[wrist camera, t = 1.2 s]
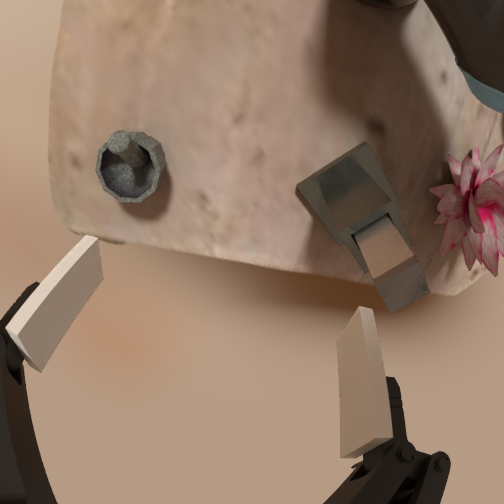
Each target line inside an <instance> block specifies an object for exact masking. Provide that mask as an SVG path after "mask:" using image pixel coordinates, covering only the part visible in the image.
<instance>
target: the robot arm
mask: <svg viewBox="0 0 504 504" xmlns="http://www.w3.org/2000/svg"><path fill="white" fill-rule="evenodd" d="M358 1H360V2H362V3H364V4H367V5H370V6H373V7H377V8H384V9H396V8H401V7H404V6H407V5H409V4H412V3H414V2H415V1H417V0H358ZM424 1H425V3H426V4H427V6H428V8H429V9H430V11H431V12H432V14H433V16H434V18H435V19H436V21H437V23H438V24H439V26H440V28H441V30H442V32H443V34H444V35H445V37H446V39H447V41H448V43H449V45H450V47H451V49H452V51H453V53H454V55H455V61H456V64H457V66H458V67H459V69H460V70H461V72H462V73H463V75H464V77H465V79H466V82H467V84H468V86H469V88H470V90H471V92H472V93H473V94H474V95H475V97H476V98H477V99H478V100H479V101H480V102H481V103H483V104H484V105H486V106H487V107H489V108H491V109H493V110H495V111H498V112H500V113H503V114H504V0H424ZM103 279H104V278H103V273H102V266H101V259H100V252H99V244H98V238H95V237H92V236H89V235H86V236H85V237H84V238H83V239H82V240H81V241H80V242H79V243H78V244H77V245H76V246H75V247H74V248H73V249H72V250H71V251H70V252H69V253H68V254H67V255H66V256H65V257H64V258H63V259H62V260H61V261H60V262H59V263H58V265H57V266H56V267H55V268H54V269H53V270H52V271H51V272H50V273H49V274H48V276H47V277H46V278H45V279H44V280H43V281H42V282H41V284H40V283H38V282H35V283H33V284H32V285H30V286H29V287H27V288H26V290H25V291H24V292H23V293H22V294H21V296H20V297H19V298H18V299H17V300H16V302H15V303H14V304H13V305H12V306H11V308H10V309H9V310H8V311H7V313H6V314H5V315H4V316H3V318H2V319H1V320H0V504H58V503H57V502H56V499H55V496H54V494H53V492H52V489H51V486H50V483H49V481H48V478H47V475H46V472H45V468H44V465H43V462H42V459H41V455H40V452H39V448H38V445H37V441H36V437H35V432H34V428H33V424H32V419H31V414H30V409H29V403H28V397H27V390H26V383H25V375H24V367H23V364H22V362H23V360H24V359H25V360H26V362H27V363H28V365H30V366H31V367H32V368H34V369H35V370H37V371H39V372H42V370H43V369H44V367H45V365H46V363H47V362H48V360H49V359H50V357H51V355H52V354H53V352H54V351H55V349H56V347H57V346H58V344H59V343H60V341H61V339H62V338H63V336H64V335H65V333H66V332H67V330H68V329H69V327H70V326H71V324H72V323H73V321H74V320H75V318H76V317H77V316H78V314H79V313H80V311H81V310H82V308H83V307H84V305H85V304H86V302H87V301H88V300H89V298H90V297H91V295H92V294H93V293H94V291H95V290H96V289H97V287H98V286H99V285H100V283H101V282H102V281H103ZM336 342H337V356H338V374H339V398H340V458H357V457H359V456H361V455H363V461H361V462H359V463H357V464H355V465H353V466H352V467H351V468H355V467H356V468H355V470H354V471H353V472H352V473H351V474H350V476H349V477H348V478H347V479H346V480H345V481H344V482H343V483H342V484H341V486H340V487H339V488H338V489H337V490H336V491H335V492H334V493H333V494H332V495H331V496H330V497H329V498H328V499H327V500H326V502H324V503H323V504H440V502H441V499H442V496H443V493H444V489H445V486H446V482H447V479H448V475H449V472H450V466H451V462H450V458H449V457H448V455H447V454H446V453H444V452H441V451H439V452H436V453H434V454H432V455H429V454H426V453H423V452H419V451H417V450H416V449H415V447H414V446H413V444H412V443H410V442H408V440H407V435H406V427H405V419H404V412H403V408H402V406H403V405H402V400H401V392H400V387H399V385H398V383H397V381H396V380H395V378H394V377H386V376H385V370H384V364H383V358H382V353H381V348H380V342H379V338H378V332H377V327H376V323H375V318H374V313H373V310H372V309H370V308H365V307H361V306H359V307H358V309H357V310H356V312H355V313H354V315H353V316H352V318H351V319H350V321H349V323H348V324H347V326H346V327H345V329H344V330H343V332H342V333H341V335H340V336H339V338H338V339H337V341H336Z"/></svg>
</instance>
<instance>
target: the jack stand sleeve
mask: <svg viewBox="0 0 504 504" xmlns="http://www.w3.org/2000/svg"><path fill="white" fill-rule="evenodd" d="M297 187H298V189H299V191H300V192H301V193H302V195H303V196H304V197H305V199H306V200H307V202H308V203H309V204H310V206H311V207H312V208H313V210H314V211H315V213H316V214H317V215H318V217H319V218H320V220H321V221H322V222H323V224H324V225H325V227H326V228H327V230H328V231H329V232H330V234H331V235H332V237H333V238H334V240H335V241H336V243H337V244H338V245H339V246H340V245H342V244H343V243H345V244H346V245H347V247H348V248H349V250H350V251H351V253H352V254H353V256H354V258H355V259H356V261H357V262H358V264H359V265H360V267H361V269H362V270H363V272H364V273H366V272H368V271H369V268H368V266H367V264H366V261H365V259H364V257H363V255H362V252H361V250H360V248H359V246H358V243H357V241H356V239H355V237H354V235H353V233H355V232H356V231H358V230H360V229H361V228H363V227H365V226H366V225H368V224H370V223H371V222H373V221H375V220H376V219H378V218H379V217H381V216H383V215H384V214H386V215H387V216H388V218H389V219H390V220H391V222H392V223H393V225H394V226H395V228H396V229H397V230H398V232H399V233H400V235H401V236H402V238H403V239H404V241H405V242H406V244H407V245H408V247H411V246H412V243H411V240H410V238H409V236H408V234H407V231H406V229H405V227H404V225H403V222H402V220H401V218H400V216H399V214H398V212H397V211H398V210H399V209H401V206H400V204H399V202H398V200H397V198H396V195H395V193H394V191H393V189H392V187H391V185H390V183H389V181H388V180H387V178H386V176H385V174H384V172H383V170H382V168H381V166H380V164H379V163H378V161H377V159H376V157H375V155H374V154H373V152H372V150H371V148H370V147H369V145H368V144H367V143H366V142H365V141H364V142H363V143H361V144H360V145H358V146H356V147H355V148H353V149H352V150H350V151H348V152H347V153H345V154H344V155H342V156H341V157H339V158H337V159H336V160H334V161H333V162H331V163H330V164H328V165H326V166H325V167H323V168H322V169H320V170H319V171H317V172H316V173H314V174H312V175H311V176H309V177H308V178H306V179H305V180H303V181H302V182H300V183H299V184H297Z"/></svg>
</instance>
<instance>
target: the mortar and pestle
mask: <svg viewBox="0 0 504 504" xmlns="http://www.w3.org/2000/svg"><path fill="white" fill-rule="evenodd" d="M164 156H165V154H164V151H163V148H162V145H161V143H160V142H158V141H157V140H155V139H154V138H153V137H151V136H148V135H146V134H145V133H144V132H128V133H126V132H125V131H124V130H122V131H116V132H114V133H113V134H112V135H110V137H109V140H108V141H107V142H106V143H105V144H104V145H103V146H102V147H101V148H100V149H99V151H98V157H97V163H96V170H95V171H96V173H97V175H98V178H99V180H100V183H101V185H102V187H103V190H104V191H106V192H107V193H109V194H110V195H111V196H113V197H114V198H115V199H117V200H118V201H119V202H133V203H140V202H141V201H143V200H144V199H145V198H147V197H148V196H149V195H151V194H152V193H153V192H155V191H156V190H157V189H158V187H159V185H160V183H161V180H162V176H163V173H164V169H165V166H166V162H165V159H164Z"/></svg>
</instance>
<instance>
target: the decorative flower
mask: <svg viewBox="0 0 504 504" xmlns="http://www.w3.org/2000/svg"><path fill="white" fill-rule="evenodd" d="M503 147H504V143H503V144H501V145H500V146H498V147H497V148H496V149H495V150H494V151H493V152H492V153H491V154H490V156H489V157H488V158H487V159H486V161H485V162H484V164H483V165H482V167H481V164H480V158H479V149H478V145H476V148H475V150H474V152H473V155H472V160H471V159H470V158H469V156H468V155H466V156H465V158H464V160H463V162H462V165H461V164H460V163H459V162H458V161H457V160H456V159H455V158H453V157H452V156H451V155H449V154H448V162H449V166H450V170H451V173H452V177H453V181H454V183H455V184H444V185H439V186H436V187H433V188H430V192H431V193H433V194H434V195H435V196H436V197H437V198H439V199H440V200H441V201H440V202H439V204H438V206H437V210H438V211H439V212H440V215H439V216H438V218H437V219H436V221H435V222H434V224H444V223H446V226H445V230H444V234H443V237H442V243H441V249H440V255H441V256H443V255H445V254H446V253H447V252H448V251H450V250H451V249H452V248H454V247H455V246H456V245H457V244H458V243H459V242H460V241H461V243H462V249H463V253H464V258H465V262H466V265H467V267H468V270H469V271H471V269H472V266H473V264H474V262H475V260H476V258H477V260H478V261H479V263H480V264H481V265H482V262H483V263H484V265H485V266H486V268H487V269H488V270H489V271H490V272H491V273H492V274H493V275H494V276H495V277H496V276H497V275H498V261H499V253H500V254H501V255H502V256H503V257H504V171H502V172H500V173H498V174H496V175H494V176H493V174H494V172H495V169H496V167H497V165H498V164H497V161H498V158H499V156H500V153H501V151H502V149H503Z"/></svg>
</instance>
